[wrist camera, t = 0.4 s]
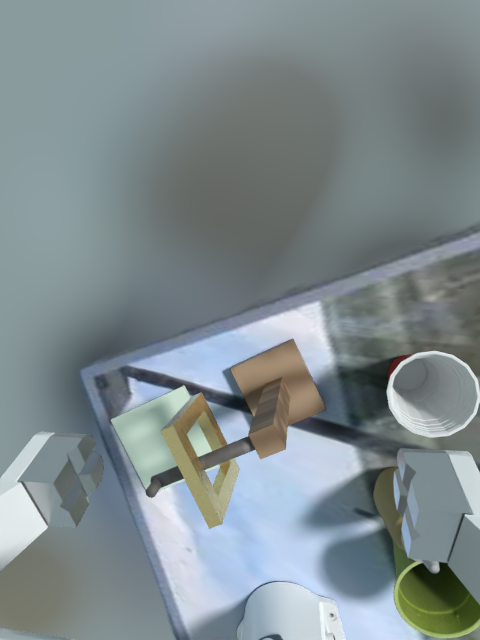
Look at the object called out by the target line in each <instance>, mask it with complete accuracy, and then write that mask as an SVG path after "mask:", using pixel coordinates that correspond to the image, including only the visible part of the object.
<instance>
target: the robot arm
mask: <svg viewBox="0 0 480 640" xmlns="http://www.w3.org/2000/svg"><path fill="white" fill-rule="evenodd" d="M95 445H96V442H95V440H94V438H93V436H92V435H83V434H69V433H55V432H39V433H38V434H36V435H34V436H33V438H32V439H31V440H30V441H29V443H28V444H27V445H26V446H25V448H24V449H23V450H22V451H21V453H20V454H19V455H18V456H17V458H16V459H15V460H14V462H13V463H12V464H11V465H10V467H9V468H8V469H7V470H6V472H5V473H4V474H3V475H2V477H1V478H0V571H1V570H2V569H3V568H4V567H5V566H6V565H7V564H8V563H9V562H10V561H12V560H13V559H14V558H15V557H16V556H17V555H18V554H19V553H20V552H21V551H23V549H24V548H26V547H27V546H28V545H29V544H30V543H31V542H32V541H34V540H35V539H36V538H37V537H38V536H39V535H40V534H41V533H42V532H43V531H44V530H46V529H47V528H48V526H63V527H77V526H78V524H79V522H80V520H81V518H82V516H83V514H84V513H85V510H86V509H87V507H88V505H89V502H88V495H90V494H91V493H92V492H94V491H95V490H96V489H97V488H98V486H99V484H100V482H101V479H102V475H103V470H104V465H103V459H102V457H101V455H100V454H99V453H98V452H97V451H95V450H94V447H95ZM397 462H398V466H399V468H398V469H397V470H396V471H395V473H394V497H395V503H396V508H397V511H398V512H399V514H400V515H401V516H402V517H403V523H402V528H401V530H402V535H403V539H404V543H405V548H406V552H407V556H408V558H411V559H420V560H428V561H436V562H445V563H448V566H449V567H450V568H451V570H452V571H453V572H454V573H455V575H456V576H457V577H458V578H459V580H460V581H461V582H462V583H463V585H464V586H465V587H466V588H467V590H468V591H469V592H470V593H471V595H472V596H473V597H474V598H475V600H476V601H477V602H478V603H479V605H480V472H479V470H478V468H477V466H476V464H475V462H474V460H473V457H472V455H471V454H470V453H469V452H468V451H446V450H445V451H443V450H427V449H399V451H398V455H397ZM330 613H332V614H330ZM237 639H238V640H346V637H345V633H344V630H343V626H342V622H341V618H340V615H339V611H338V607H337V604H336V602H335V601H333V600H332V599H329V598H326V597H321V596H317V595H315V594H313V593H312V592H310V591H309V590H307V589H306V588H304V587H302V586H299V585H297V584H293V583H289V582H273V583H269V584H266V585H263V586H261V587H260V588H258V589H257V590H256V591H254V592H253V594H252V595H251V596H250V598H249V599H248V601H247V604H246V607H245V614H244V618H243V620H242V622H241V623H240V624H239V626H238V628H237ZM0 640H77V639H70V638H64V637H57V636H50V635H43V634H37V633H30V632H23V631H16V630H10V629H3V628H0Z"/></svg>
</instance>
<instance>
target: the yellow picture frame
mask: <svg viewBox="0 0 480 640" xmlns="http://www.w3.org/2000/svg"><path fill="white" fill-rule="evenodd" d="M196 421H197V422H198V424H199V426H200V428H201V430H202V432H203V434H204V436H205V438H206V440H207V442H208V444H209V446H210V448H211V450H212V451H214V450H217V449H219V448H221V447H224V446H226V445H228V444H227V442H226V440H225V438H224V436H223V434H222V432H221V430H220V428H219V426H218V424H217V422H216V420H215V418H214V416H213V414H212V412H211V410H210V408H209V406H208V404H207V402H206V400H205V398H204V396H203V394H202V392H201V393H199V394H197V395H194V396H192V397H191V398H190V399H189V400H188V401H187V402H186V403H185V405H184V406H183V407H182V408H181V409H180V410H179V411H178V412H177V413H176V414H175V415H174V417H173V418H172V419H171V420H170V421H169V422H168V423H167V424H166V425H165V426H164V428H163V429H162V430H161V431H160V432H161V434H162V436H163V438H164V440H165V442H166V444H167V446H168V448H169V450H170V451H171V453H172V455H173V457H174V459H175V461H176V463H177V465H178V467H179V469H180V471H181V473H182V475H183V477H184V479H185V481H186V483H187V485H188V487H189V489H190V491H191V493H192V495H193V497H194V499H195V501H196V503H197V505H198V507H199V509H200V511H201V513H202V515H203V517H204V519H205V521H206V523H207V525H208V527H209V529H210V528H212V527H215V526H218V525H220V524H222V523H223V520H224V517H225V513H226V510H227V507H228V504H229V501H230V498H231V495H232V491H233V488H234V485H235V482H236V479H237V476H238V473H239V470H240V468H239V466H238V464H237V462H236V460H235V458H233V459H231V460H228V461H226V462H223V463H221V464H219V466H220V469H219V472H218V474H217V476H216V479H215V481H214V484H213V486H212V484H211V482H210V480H209V478H208V476H207V474H206V472H205V470H204V468H203V466H202V464H201V462H200V460H199V458H198V456H197V454H196V452H195V450H194V448H193V446H192V444H191V442H190V440H189V438H188V436H187V433H188V432H189V430H190V429H191V428H192V426H193V425H194V424H195V422H196Z"/></svg>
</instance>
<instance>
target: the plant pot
mask: <svg viewBox="0 0 480 640" xmlns="http://www.w3.org/2000/svg"><path fill="white" fill-rule="evenodd" d="M393 548H394V557H395V566H396V582H395V586H394V602H395V605H396V608H397V610H398V612H399V614H400V615H401V617H402V618H403V619H404V620H405V621H406V622H407V623H408V624H409V625H410V626H411V627H413V628H414V629H416V630H417V631H419V632H421V633H423V634H426V635H429V636H432V637H437V638H453V637H460V636H463V635H466V634H468V633H470V632H472V631H473V630H475V629H476V628H477V627H478V626H479V625H480V605H479V603H478V602H477V601H476V600H475V598H474V597H473V596H472V595H471V593H470V592H469V591H468V590H467V588H466V587H465V586H464V585H463V583H462V582H461V581H460V580H459V578H458V577H457V576H456V575H455V573H454V572H453V571H452V570H451V568H450V567H449V566H448V563H445V562H439V568H440V570H439V572H438V573H435V574H434V573H431V572H430V571H429V570H428V568H427V567H426V566H425V565H424V563H420V562H416V561H415V560H413V559H411V558H408V556H407V553H406V552H405V551H404V550H402V549H400V548H399V547H398V546H397V544H396V543H395V542H394V540H393Z"/></svg>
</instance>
